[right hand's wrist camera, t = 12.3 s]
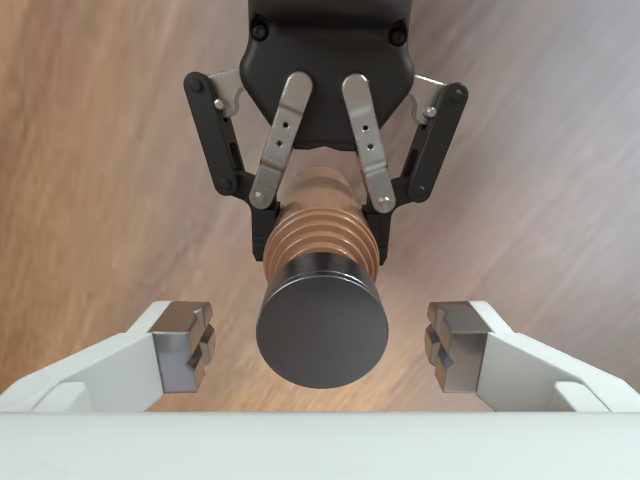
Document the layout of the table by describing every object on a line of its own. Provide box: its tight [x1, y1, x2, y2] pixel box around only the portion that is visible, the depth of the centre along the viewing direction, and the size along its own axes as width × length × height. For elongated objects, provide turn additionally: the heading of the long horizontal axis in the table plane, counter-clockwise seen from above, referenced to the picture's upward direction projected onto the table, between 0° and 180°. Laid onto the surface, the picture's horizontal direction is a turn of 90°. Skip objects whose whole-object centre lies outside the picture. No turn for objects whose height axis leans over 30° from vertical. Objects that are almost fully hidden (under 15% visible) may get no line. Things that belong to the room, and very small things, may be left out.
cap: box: [256, 252, 388, 389], centre depth 11 cm, size 4×4×2 cm
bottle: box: [263, 166, 380, 285], centre depth 18 cm, size 5×5×17 cm
